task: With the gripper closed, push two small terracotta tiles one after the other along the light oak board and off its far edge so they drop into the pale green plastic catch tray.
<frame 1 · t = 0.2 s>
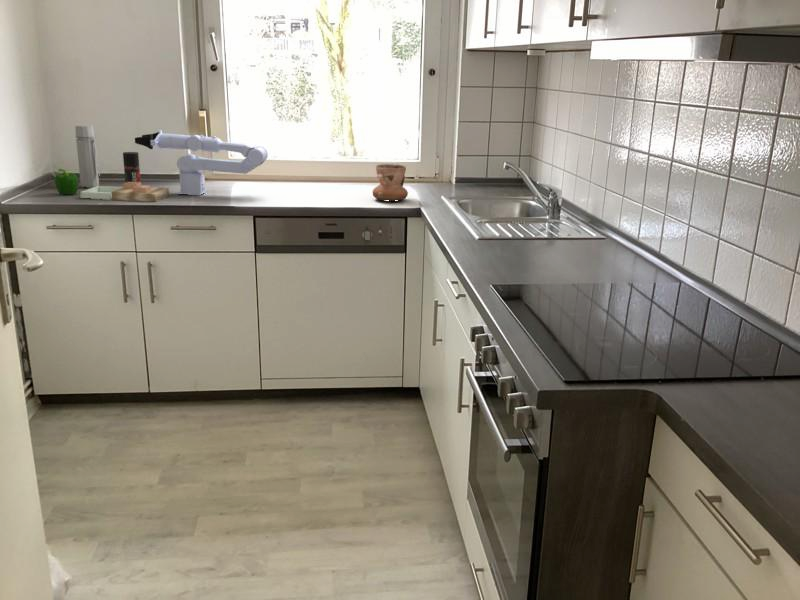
hand: (138, 139, 284), 21 cm above the worktop, tool horizontal, fingers open, 7 cm apart
brown clay vase: (390, 200, 293), on the worktop
water bottle: (92, 187, 297), on the worktop
tile 2: (142, 191, 274), point 3 cm above the worktop, touching board
tile 1: (132, 188, 281), point 3 cm above the worktop, touching board
board: (141, 197, 279), on the worktop
bell pepper: (68, 194, 280), on the worktop
tray: (104, 195, 279), on the worktop
deodorant: (133, 189, 295), on the worktop
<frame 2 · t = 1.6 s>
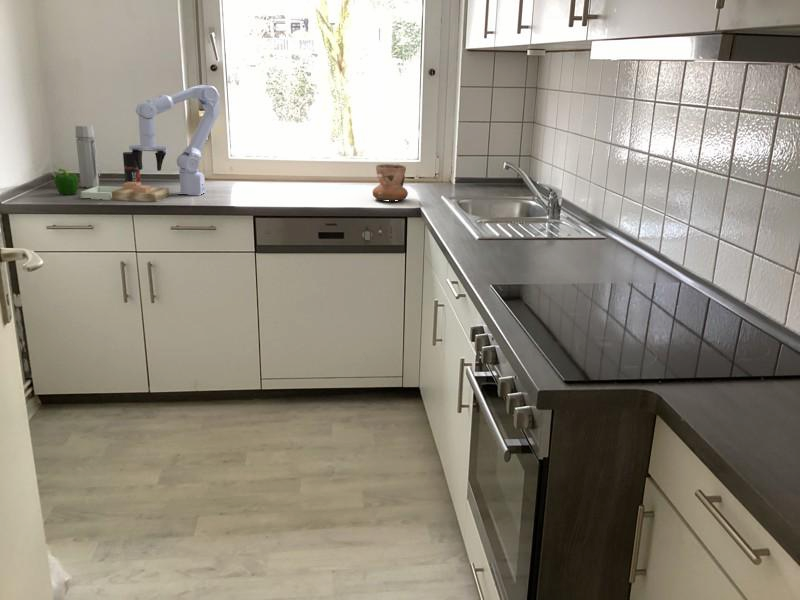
hand: (149, 170, 278), 10 cm above the worktop, tool pointing down, fingers open, 7 cm apart
nothing on the worktop moved.
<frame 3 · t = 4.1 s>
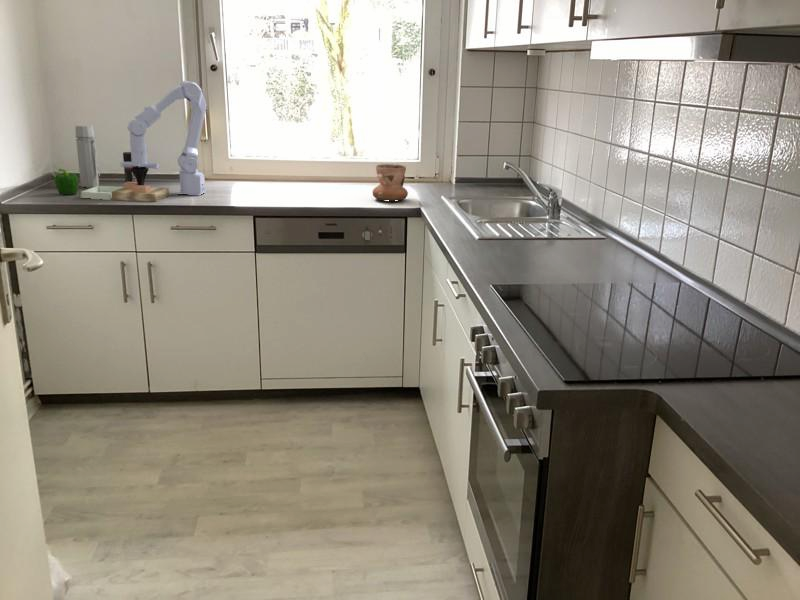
hand: (141, 186, 281), 4 cm above the worktop, tool pointing down, fingers closed
tile 1: (132, 188, 281), point 3 cm above the worktop, touching board, gripper
everything else where it was.
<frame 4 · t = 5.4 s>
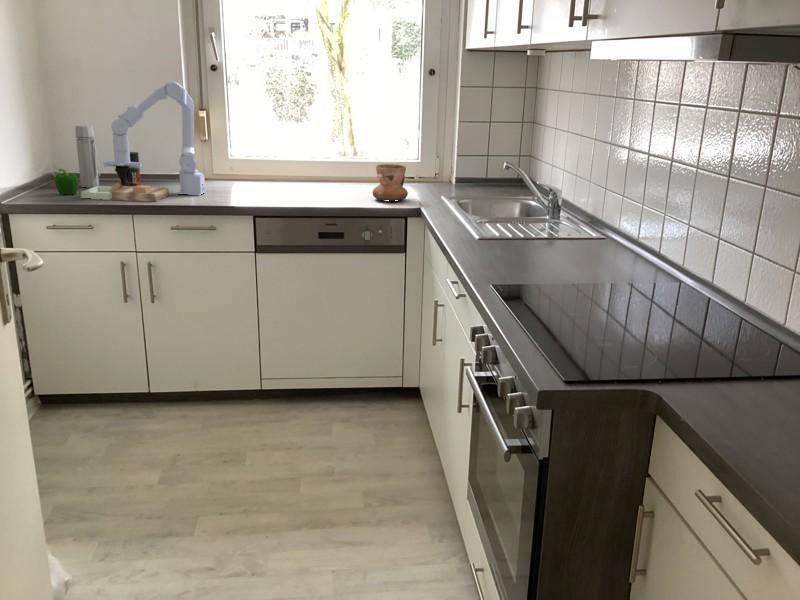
hand: (124, 185, 281), 4 cm above the worktop, tool pointing down, fingers closed, pressing on tile 1
tile 1: (119, 189, 281), point 2 cm above the worktop, tilted 47°, touching gripper, tray
everything else where it was.
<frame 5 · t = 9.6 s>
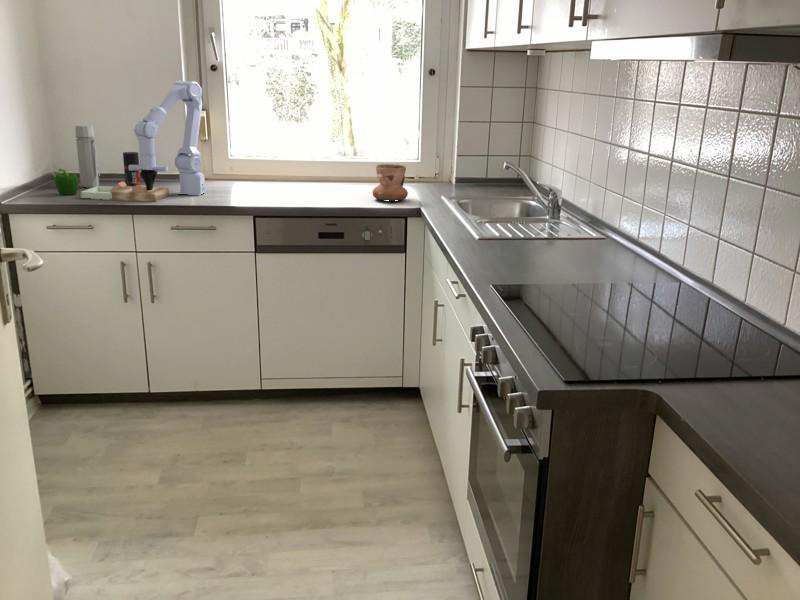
hand: (149, 189, 274), 4 cm above the worktop, tool pointing down, fingers closed
tile 2: (141, 191, 274), point 3 cm above the worktop, touching board, gripper
tile 1: (119, 190, 281), point 2 cm above the worktop, tilted 40°, touching board, tray
everything else where it was.
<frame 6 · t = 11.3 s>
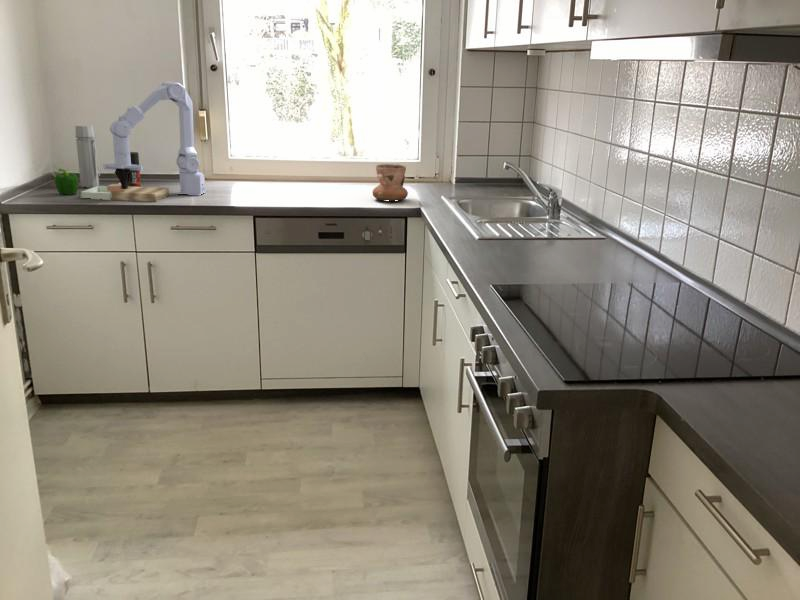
hand: (125, 188, 274), 4 cm above the worktop, tool pointing down, fingers closed
tile 2: (116, 190, 275), point 3 cm above the worktop, touching gripper
everything else where it was.
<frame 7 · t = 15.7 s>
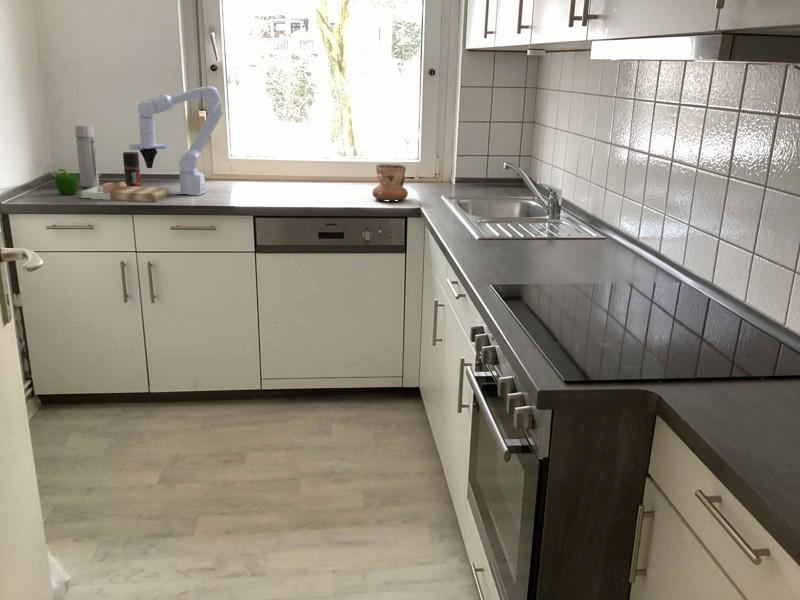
hand: (149, 167, 284), 10 cm above the worktop, tool pointing down, fingers closed
tile 2: (110, 190, 275), point 3 cm above the worktop, tilted 90°, touching tray
everything else where it was.
at the end: tile 1 inside the target area (6.0 cm from its centre), point 2.0 cm above the worktop; tile 2 inside the target area (5.1 cm from its centre), point 2.9 cm above the worktop; tile 2 touching tray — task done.
